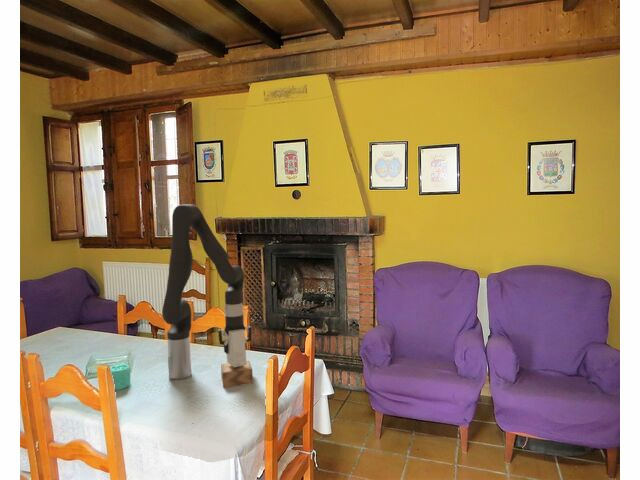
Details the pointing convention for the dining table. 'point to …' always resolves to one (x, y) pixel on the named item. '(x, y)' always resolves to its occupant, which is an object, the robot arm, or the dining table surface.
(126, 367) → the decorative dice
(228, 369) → the walnut block
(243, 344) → the skincare box
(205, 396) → the dining table surface
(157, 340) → the dining table surface
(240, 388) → the dining table surface
